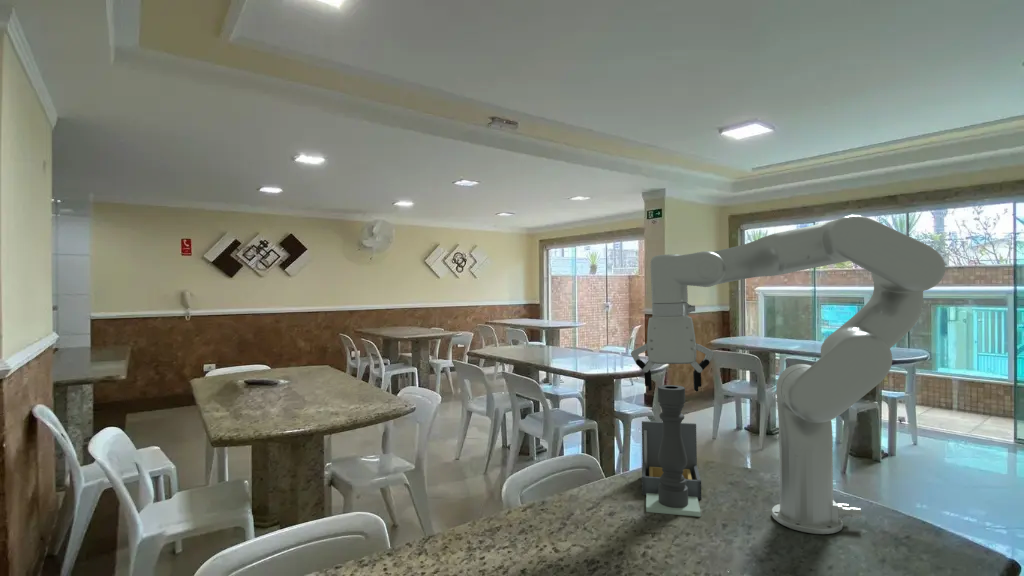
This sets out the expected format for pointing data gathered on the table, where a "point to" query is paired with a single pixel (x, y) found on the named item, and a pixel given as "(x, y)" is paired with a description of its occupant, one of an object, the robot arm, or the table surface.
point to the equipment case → (650, 462)
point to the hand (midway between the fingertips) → (672, 389)
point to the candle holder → (672, 448)
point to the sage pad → (656, 507)
